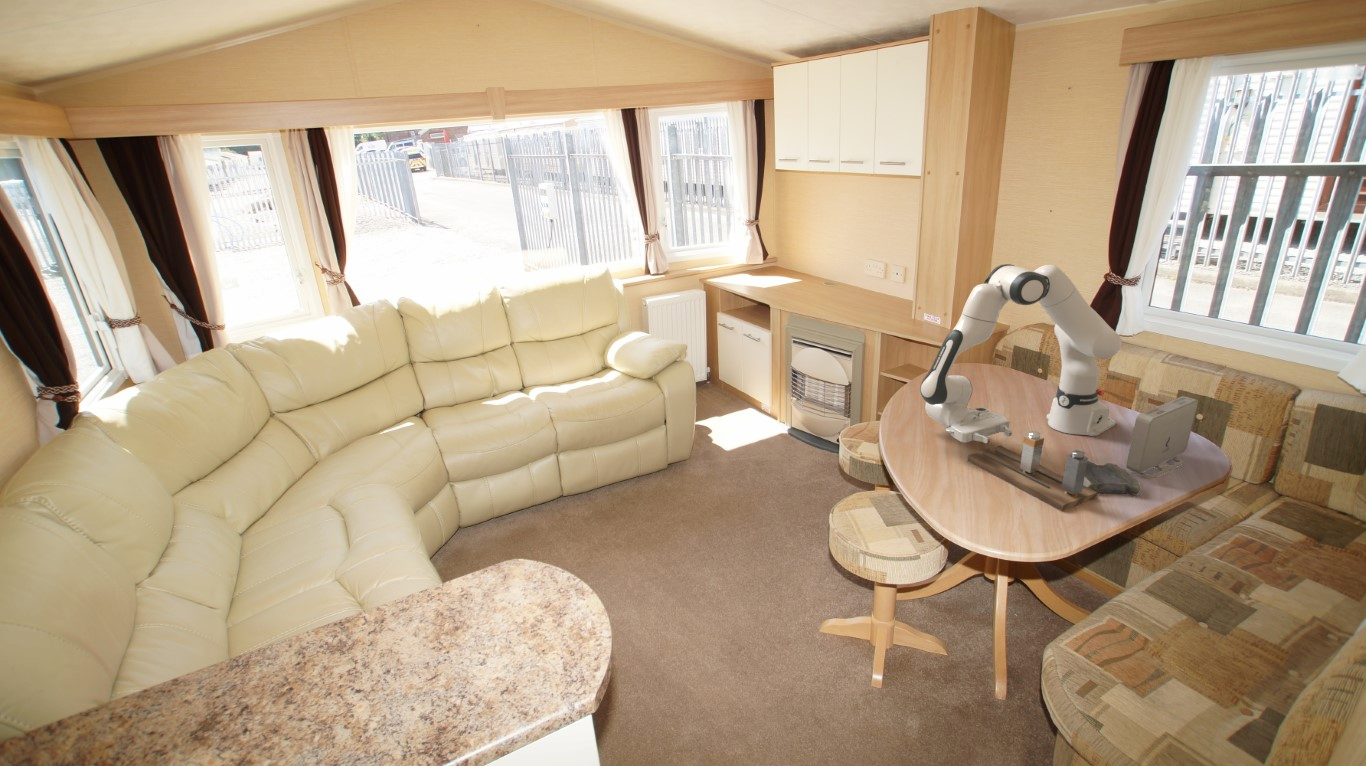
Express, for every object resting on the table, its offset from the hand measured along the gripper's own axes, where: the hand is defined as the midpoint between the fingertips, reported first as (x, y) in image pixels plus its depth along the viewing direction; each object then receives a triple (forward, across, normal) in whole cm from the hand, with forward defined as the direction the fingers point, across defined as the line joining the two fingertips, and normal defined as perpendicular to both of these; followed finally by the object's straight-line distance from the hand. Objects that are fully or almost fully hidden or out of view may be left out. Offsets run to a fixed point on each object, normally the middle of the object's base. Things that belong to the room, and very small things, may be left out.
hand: (999, 437), depth 201 cm
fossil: (+24, +17, +10) cm, 31 cm away
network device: (+24, +39, +9) cm, 47 cm away
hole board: (+12, 0, +9) cm, 15 cm away
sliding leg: (+12, 0, +7) cm, 14 cm away
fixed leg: (+26, 0, +7) cm, 27 cm away
